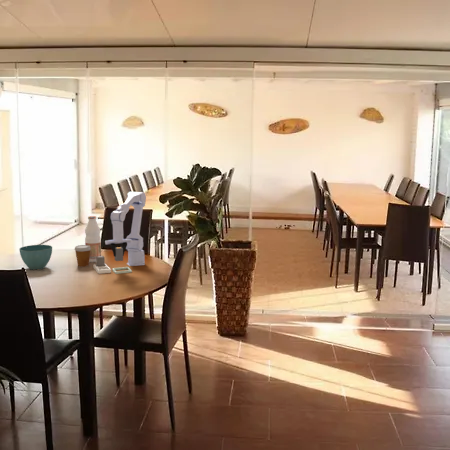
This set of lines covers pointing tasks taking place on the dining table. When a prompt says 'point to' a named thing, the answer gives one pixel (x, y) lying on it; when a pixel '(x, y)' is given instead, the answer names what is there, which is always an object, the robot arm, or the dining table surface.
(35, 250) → the teal bowl
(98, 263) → the twin plug
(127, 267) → the tray
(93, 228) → the fruit juice
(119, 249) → the plug
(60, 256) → the dining table surface
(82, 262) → the disposable coffee cup
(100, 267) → the strip
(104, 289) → the dining table surface
